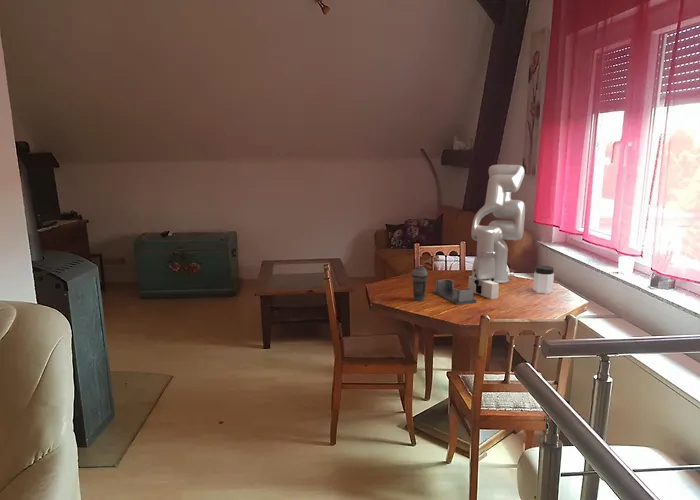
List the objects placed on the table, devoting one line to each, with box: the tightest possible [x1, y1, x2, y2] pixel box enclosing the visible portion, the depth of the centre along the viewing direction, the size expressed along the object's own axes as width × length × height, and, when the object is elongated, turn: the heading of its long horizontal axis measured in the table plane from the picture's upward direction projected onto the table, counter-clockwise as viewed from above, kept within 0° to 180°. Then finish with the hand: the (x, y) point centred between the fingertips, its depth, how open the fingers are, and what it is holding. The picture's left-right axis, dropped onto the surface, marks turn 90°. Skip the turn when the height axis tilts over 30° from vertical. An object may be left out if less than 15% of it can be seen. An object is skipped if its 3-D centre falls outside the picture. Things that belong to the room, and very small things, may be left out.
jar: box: [532, 265, 555, 295], centre depth 254 cm, size 9×8×12 cm
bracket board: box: [432, 278, 477, 306], centre depth 245 cm, size 10×22×6 cm, turn 20°
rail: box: [467, 275, 500, 300], centre depth 250 cm, size 4×17×7 cm, turn 25°
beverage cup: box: [411, 256, 428, 302], centre depth 239 cm, size 7×7×20 cm
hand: (482, 292), depth 250 cm, fingers closed on rail, 4 cm apart
